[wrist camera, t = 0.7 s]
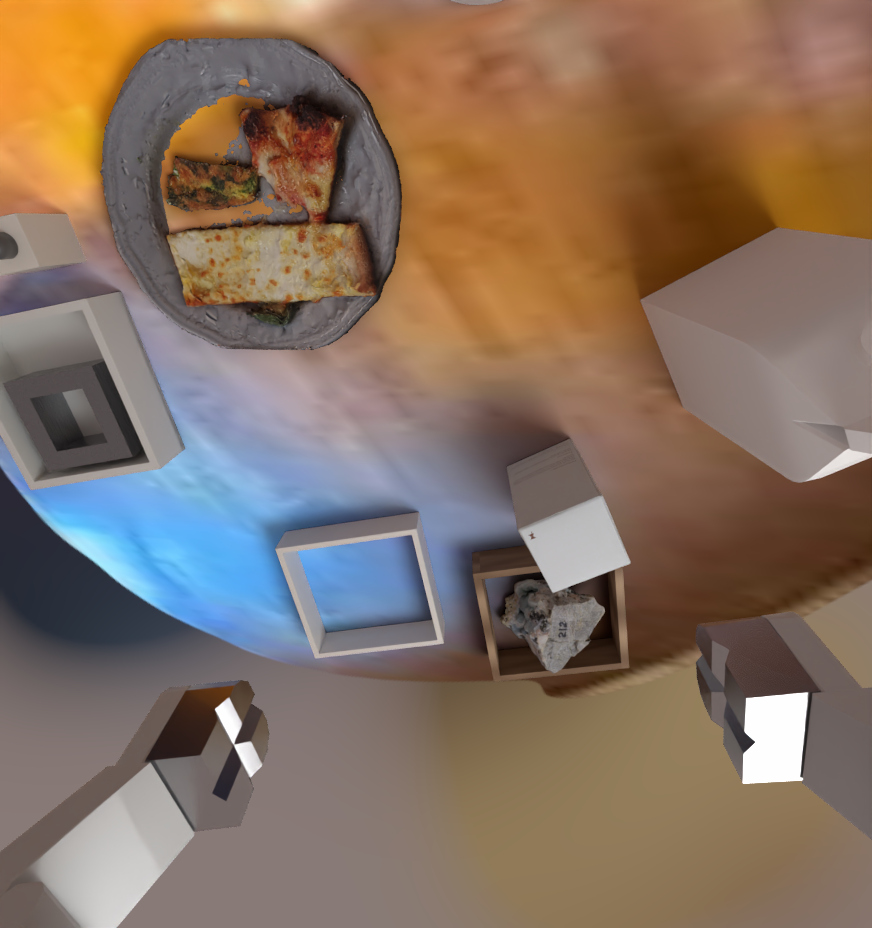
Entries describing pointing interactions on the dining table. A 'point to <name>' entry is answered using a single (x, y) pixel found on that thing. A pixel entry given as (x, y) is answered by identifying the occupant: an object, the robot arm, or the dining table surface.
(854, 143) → the dining table surface
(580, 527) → the supplement box
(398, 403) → the dining table surface
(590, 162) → the dining table surface
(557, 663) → the mineral specimen
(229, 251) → the food plate
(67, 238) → the connector
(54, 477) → the walled box
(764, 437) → the milk
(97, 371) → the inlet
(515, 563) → the stand rim
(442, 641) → the open square frame
